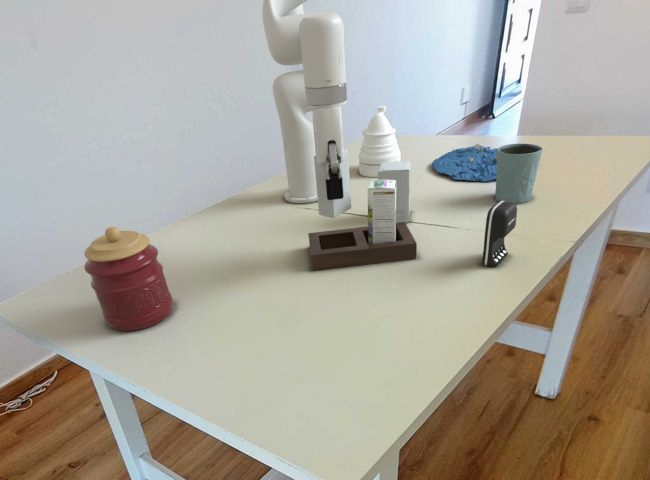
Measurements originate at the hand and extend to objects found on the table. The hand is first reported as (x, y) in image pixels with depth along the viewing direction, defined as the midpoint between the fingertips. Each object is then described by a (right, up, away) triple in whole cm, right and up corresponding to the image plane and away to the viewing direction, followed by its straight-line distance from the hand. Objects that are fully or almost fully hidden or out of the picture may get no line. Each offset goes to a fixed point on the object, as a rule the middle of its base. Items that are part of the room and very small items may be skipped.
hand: (333, 192), depth 101 cm
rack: (+6, -11, +8) cm, 15 cm away
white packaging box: (+16, +1, +23) cm, 28 cm away
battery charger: (+33, -14, -1) cm, 36 cm away
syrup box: (+11, -10, +8) cm, 17 cm away
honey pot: (+17, +24, +55) cm, 63 cm away
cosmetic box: (0, -4, +3) cm, 5 cm away
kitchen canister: (-38, -25, -4) cm, 45 cm away
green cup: (+47, +7, +26) cm, 54 cm away
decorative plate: (+47, +23, +48) cm, 71 cm away
